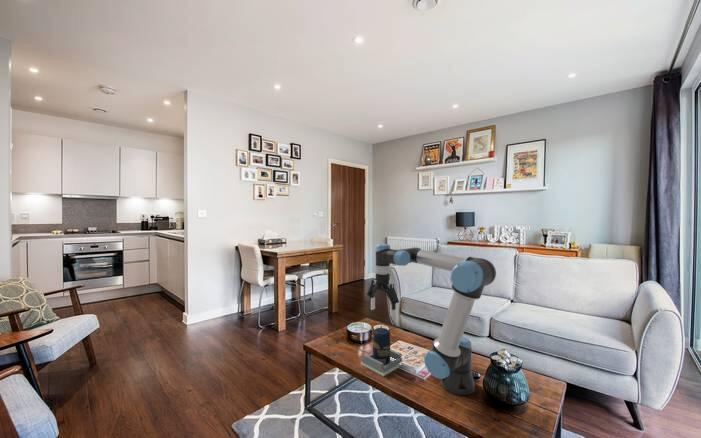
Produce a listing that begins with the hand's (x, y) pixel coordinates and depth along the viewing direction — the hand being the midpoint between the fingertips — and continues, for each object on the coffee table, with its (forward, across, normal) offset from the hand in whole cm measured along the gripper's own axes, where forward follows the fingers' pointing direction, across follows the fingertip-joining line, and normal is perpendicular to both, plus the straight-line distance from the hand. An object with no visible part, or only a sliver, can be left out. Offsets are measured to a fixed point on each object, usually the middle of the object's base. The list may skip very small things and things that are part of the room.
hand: (382, 312), depth 157 cm
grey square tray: (+28, 0, 0) cm, 29 cm away
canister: (+27, 0, 0) cm, 27 cm away
